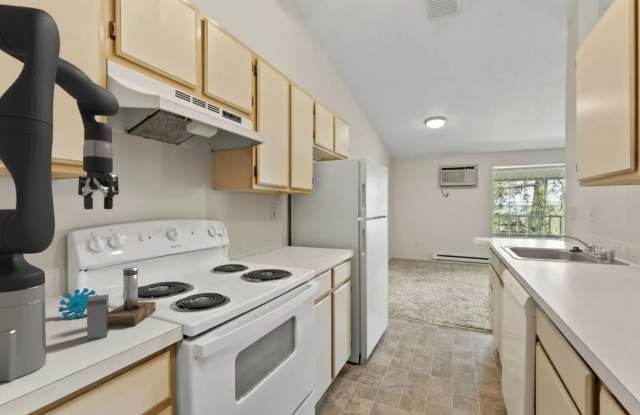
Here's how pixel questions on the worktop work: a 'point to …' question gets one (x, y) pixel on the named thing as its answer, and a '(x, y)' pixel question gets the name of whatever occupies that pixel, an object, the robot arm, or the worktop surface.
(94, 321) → the square bit
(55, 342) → the worktop surface
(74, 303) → the blue virus model
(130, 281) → the silver capped cylinder
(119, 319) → the socket plate
